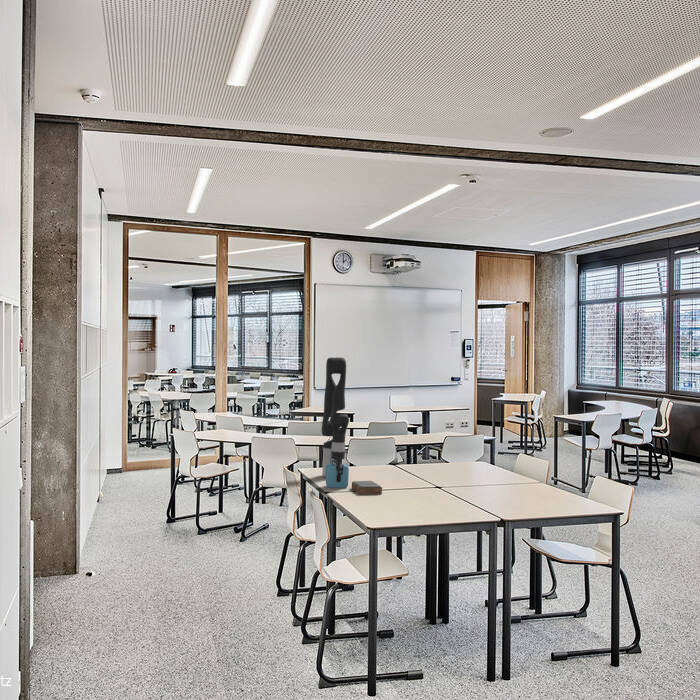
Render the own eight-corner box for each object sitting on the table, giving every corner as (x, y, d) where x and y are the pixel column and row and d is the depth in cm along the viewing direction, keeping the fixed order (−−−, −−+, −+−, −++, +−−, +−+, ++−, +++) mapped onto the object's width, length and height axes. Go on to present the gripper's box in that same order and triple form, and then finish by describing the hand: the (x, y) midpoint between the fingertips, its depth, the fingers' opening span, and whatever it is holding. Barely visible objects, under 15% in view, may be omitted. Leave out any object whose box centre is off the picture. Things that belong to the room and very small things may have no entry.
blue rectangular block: (346, 486, 356) (347, 464, 356) (348, 487, 352) (348, 466, 352) (325, 485, 355) (326, 464, 354) (326, 487, 350) (327, 465, 350)
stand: (351, 488, 351) (351, 481, 351) (372, 487, 354) (372, 480, 354) (360, 494, 336) (360, 487, 336) (381, 494, 340) (382, 486, 340)
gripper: (328, 448, 359) (326, 478, 359) (335, 452, 345) (334, 483, 345) (340, 447, 361) (339, 477, 361) (348, 452, 347) (347, 483, 347)
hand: (337, 480), depth 353 cm, fingers closed on blue rectangular block, 5 cm apart
